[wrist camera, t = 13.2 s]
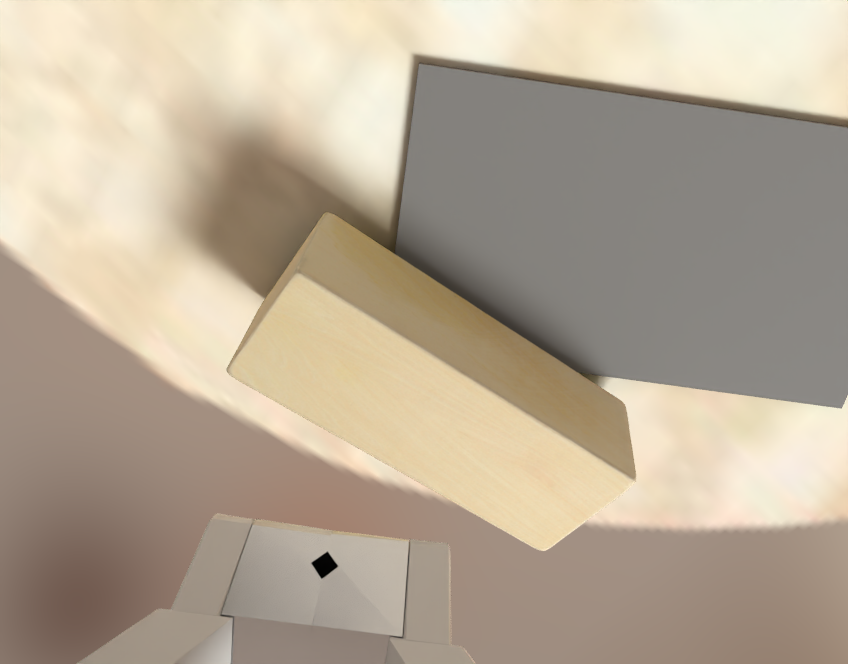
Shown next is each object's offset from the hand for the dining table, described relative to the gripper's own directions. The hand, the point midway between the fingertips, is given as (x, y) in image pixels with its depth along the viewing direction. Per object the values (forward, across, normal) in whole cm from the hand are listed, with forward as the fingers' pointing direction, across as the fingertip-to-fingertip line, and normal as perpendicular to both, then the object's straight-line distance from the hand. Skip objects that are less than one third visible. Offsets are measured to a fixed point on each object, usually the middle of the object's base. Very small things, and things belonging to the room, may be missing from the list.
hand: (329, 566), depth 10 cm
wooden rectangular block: (+29, +6, +9) cm, 31 cm away
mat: (+33, -14, +5) cm, 36 cm away
